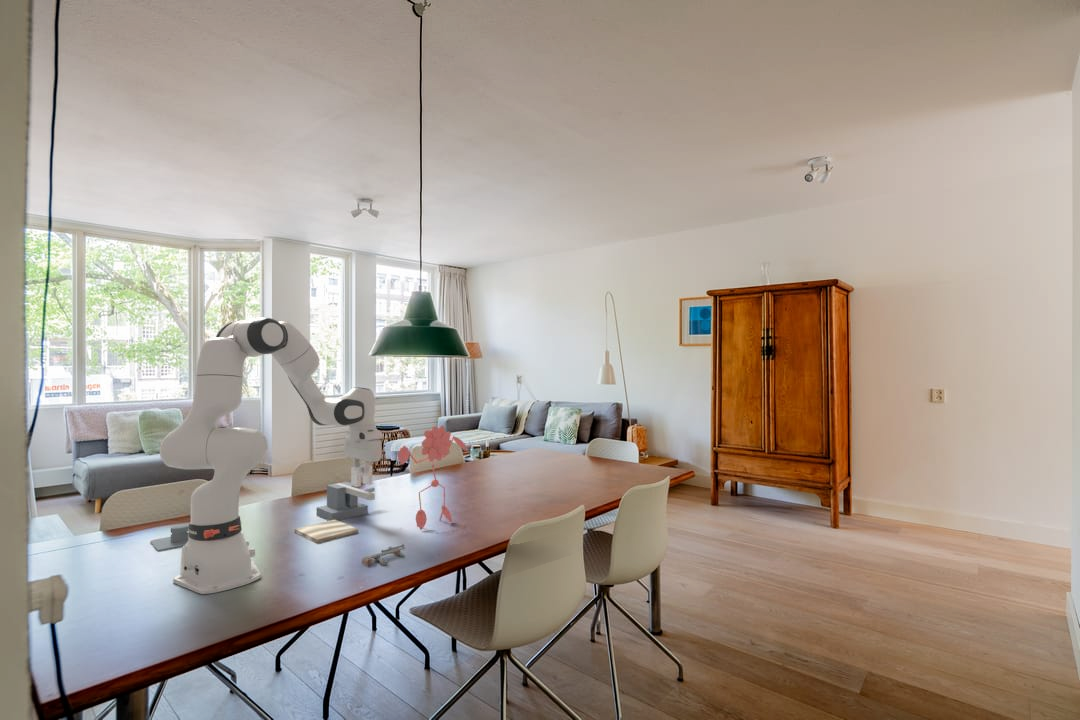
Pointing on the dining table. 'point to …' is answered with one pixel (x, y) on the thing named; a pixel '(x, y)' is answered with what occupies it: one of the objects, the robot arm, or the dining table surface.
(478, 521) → the dining table surface
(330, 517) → the grey machinist vise
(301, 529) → the ash board
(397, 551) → the clamp
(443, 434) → the pink stick figure
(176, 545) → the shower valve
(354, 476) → the white notched block
